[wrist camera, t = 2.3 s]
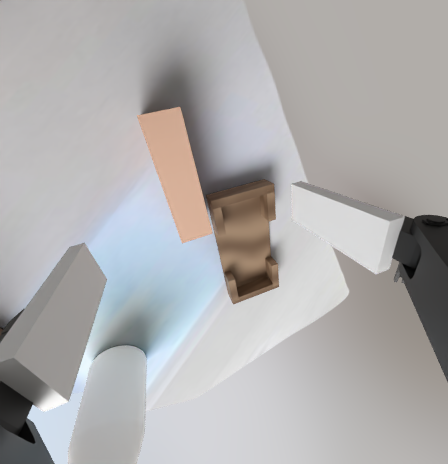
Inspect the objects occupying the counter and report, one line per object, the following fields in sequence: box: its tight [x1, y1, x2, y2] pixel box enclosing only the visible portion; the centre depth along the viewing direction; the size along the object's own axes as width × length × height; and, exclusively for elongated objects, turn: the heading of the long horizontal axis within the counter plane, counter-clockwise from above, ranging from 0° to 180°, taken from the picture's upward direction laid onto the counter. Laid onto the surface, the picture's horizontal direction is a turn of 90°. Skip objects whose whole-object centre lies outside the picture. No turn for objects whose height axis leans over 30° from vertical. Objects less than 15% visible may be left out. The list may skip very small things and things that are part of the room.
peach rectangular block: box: [137, 107, 212, 243], centre depth 24 cm, size 14×4×6 cm, turn 11°
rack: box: [206, 179, 279, 304], centre depth 34 cm, size 20×9×3 cm, turn 10°
